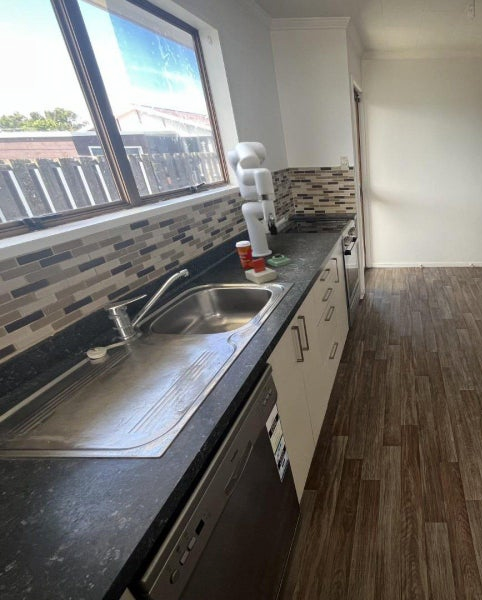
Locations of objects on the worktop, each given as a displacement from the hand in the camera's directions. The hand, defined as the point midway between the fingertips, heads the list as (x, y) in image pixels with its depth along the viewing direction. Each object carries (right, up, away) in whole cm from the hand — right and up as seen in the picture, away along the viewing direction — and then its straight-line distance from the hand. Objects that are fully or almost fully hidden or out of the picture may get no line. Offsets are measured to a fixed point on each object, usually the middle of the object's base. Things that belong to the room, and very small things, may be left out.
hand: (273, 232), depth 163 cm
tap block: (-8, -22, +5) cm, 24 cm away
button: (-7, -9, +24) cm, 27 cm away
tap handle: (-8, -19, +3) cm, 21 cm away
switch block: (-7, -12, +26) cm, 29 cm away
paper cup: (-22, -15, +21) cm, 34 cm away
